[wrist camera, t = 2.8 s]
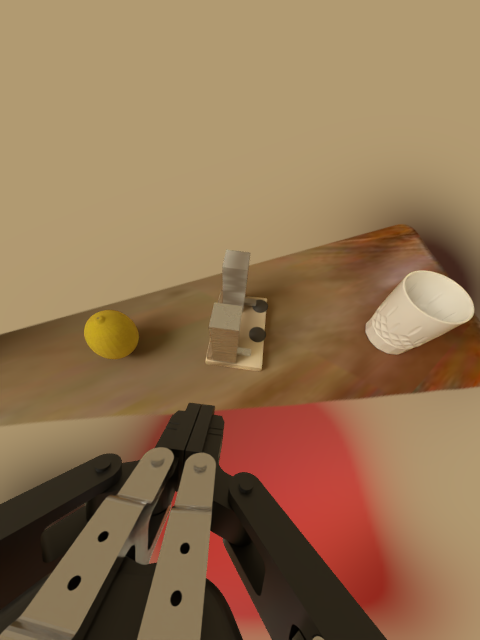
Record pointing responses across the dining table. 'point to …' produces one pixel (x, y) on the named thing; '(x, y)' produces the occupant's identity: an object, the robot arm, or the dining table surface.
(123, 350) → the lemon
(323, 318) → the dining table surface
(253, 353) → the gauge board
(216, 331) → the block
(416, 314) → the white cup
